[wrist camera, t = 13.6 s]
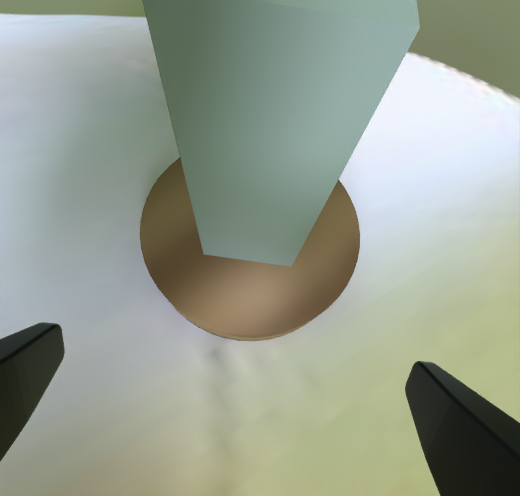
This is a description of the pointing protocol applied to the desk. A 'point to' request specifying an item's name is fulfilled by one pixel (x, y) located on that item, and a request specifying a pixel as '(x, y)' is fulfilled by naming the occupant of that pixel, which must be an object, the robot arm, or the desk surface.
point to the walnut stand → (245, 267)
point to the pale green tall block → (271, 107)
